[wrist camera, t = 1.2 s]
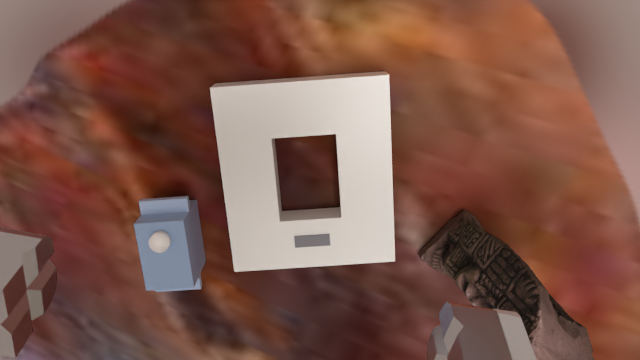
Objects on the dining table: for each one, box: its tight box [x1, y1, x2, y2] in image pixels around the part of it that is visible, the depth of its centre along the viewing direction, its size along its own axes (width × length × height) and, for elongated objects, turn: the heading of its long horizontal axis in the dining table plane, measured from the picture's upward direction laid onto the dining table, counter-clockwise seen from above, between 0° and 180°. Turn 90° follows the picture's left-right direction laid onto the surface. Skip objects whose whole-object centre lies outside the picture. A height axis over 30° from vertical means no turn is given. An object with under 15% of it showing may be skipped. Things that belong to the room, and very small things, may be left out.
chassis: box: [210, 71, 395, 272], centre depth 45 cm, size 16×14×3 cm
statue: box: [419, 210, 595, 360], centre depth 39 cm, size 7×7×20 cm
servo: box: [134, 196, 206, 292], centre depth 46 cm, size 8×4×6 cm, turn 4°
